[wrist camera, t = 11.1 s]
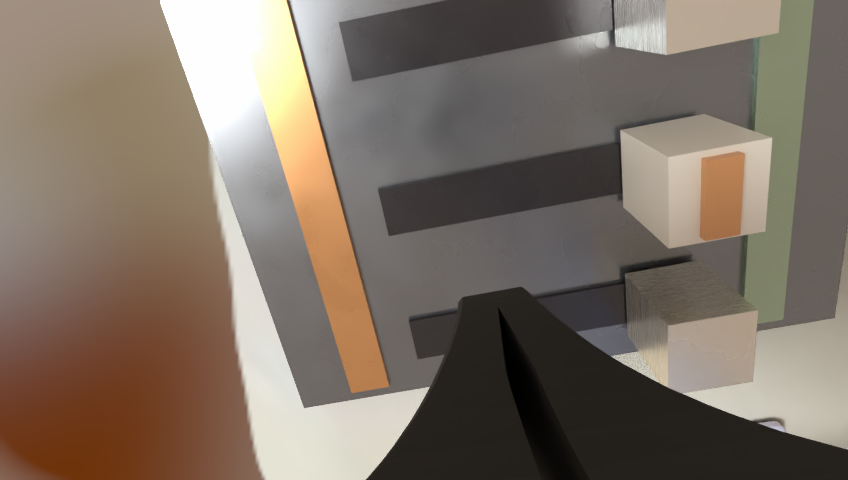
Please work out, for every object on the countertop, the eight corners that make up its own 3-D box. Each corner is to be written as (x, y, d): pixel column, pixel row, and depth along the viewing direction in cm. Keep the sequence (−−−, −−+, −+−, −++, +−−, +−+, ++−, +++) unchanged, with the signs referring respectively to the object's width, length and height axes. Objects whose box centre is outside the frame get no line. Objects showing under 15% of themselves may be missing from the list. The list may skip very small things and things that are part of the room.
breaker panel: (813, 302, 22) (919, 379, 18) (309, 389, 24) (284, 483, 19) (868, -146, 16) (1054, -209, 11) (175, 1, 17) (89, -2, 13)
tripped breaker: (702, 192, 19) (771, 235, 15) (623, 207, 19) (673, 253, 15) (704, 113, 18) (779, 140, 14) (620, 130, 18) (673, 160, 14)
